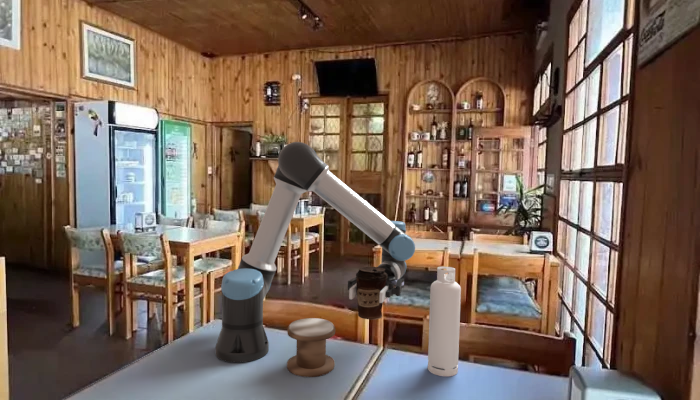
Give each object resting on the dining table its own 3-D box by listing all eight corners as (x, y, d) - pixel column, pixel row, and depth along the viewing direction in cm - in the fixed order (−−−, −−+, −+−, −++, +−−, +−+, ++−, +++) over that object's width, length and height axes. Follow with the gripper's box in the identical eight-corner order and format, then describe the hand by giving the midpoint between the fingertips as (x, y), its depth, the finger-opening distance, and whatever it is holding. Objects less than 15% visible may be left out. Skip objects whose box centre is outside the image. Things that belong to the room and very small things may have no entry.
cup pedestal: (277, 365, 118) (277, 325, 118) (312, 351, 128) (312, 314, 127) (309, 382, 110) (309, 338, 109) (344, 365, 119) (345, 325, 118)
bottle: (449, 361, 123) (453, 264, 121) (463, 375, 115) (467, 271, 113) (423, 364, 121) (426, 265, 119) (434, 377, 113) (438, 272, 111)
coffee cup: (383, 323, 110) (385, 273, 109) (351, 320, 112) (353, 271, 111) (387, 312, 119) (389, 266, 118) (357, 310, 120) (359, 264, 120)
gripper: (418, 291, 129) (404, 315, 107) (354, 284, 135) (328, 305, 114) (419, 266, 129) (405, 285, 107) (354, 260, 135) (328, 277, 113)
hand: (365, 295), depth 110 cm, fingers closed on coffee cup, 7 cm apart
